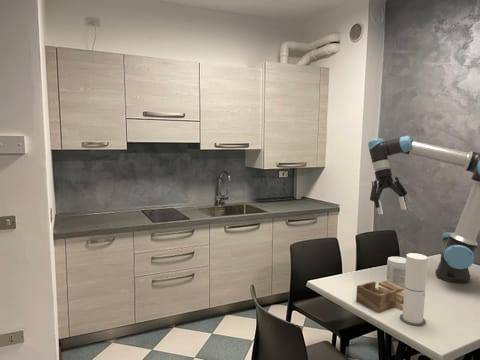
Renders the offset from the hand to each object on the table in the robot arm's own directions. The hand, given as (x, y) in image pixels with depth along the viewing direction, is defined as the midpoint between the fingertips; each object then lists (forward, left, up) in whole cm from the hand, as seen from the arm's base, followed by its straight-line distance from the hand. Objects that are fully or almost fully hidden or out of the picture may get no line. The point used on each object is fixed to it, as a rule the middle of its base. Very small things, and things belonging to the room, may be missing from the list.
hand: (392, 211), depth 173 cm
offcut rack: (+15, +26, -34) cm, 46 cm away
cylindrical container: (+10, +40, -34) cm, 53 cm away
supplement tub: (+2, +13, -34) cm, 37 cm away
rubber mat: (+10, +40, -34) cm, 53 cm away
